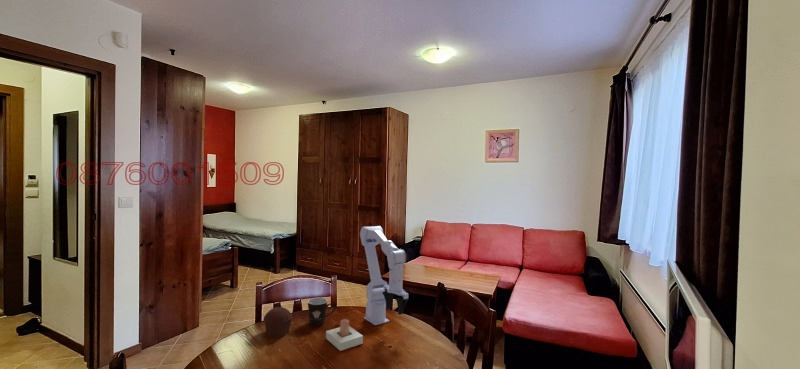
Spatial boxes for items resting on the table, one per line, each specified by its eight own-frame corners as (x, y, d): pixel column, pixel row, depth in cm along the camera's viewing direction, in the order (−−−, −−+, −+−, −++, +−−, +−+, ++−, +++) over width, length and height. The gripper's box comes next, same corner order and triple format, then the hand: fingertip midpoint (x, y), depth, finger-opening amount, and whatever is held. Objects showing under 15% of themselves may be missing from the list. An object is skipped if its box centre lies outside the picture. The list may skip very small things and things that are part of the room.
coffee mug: (303, 325, 143) (303, 302, 143) (313, 318, 151) (314, 296, 151) (326, 329, 139) (327, 306, 139) (336, 321, 148) (336, 300, 148)
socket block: (325, 338, 132) (326, 331, 132) (347, 331, 138) (347, 324, 138) (340, 350, 123) (340, 343, 123) (362, 343, 129) (363, 335, 129)
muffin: (259, 331, 136) (259, 307, 136) (285, 324, 144) (285, 301, 143) (269, 342, 127) (270, 316, 127) (296, 334, 135) (297, 310, 135)
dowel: (338, 340, 131) (338, 320, 131) (345, 338, 133) (346, 318, 133) (342, 343, 128) (343, 323, 128) (349, 341, 130) (350, 321, 130)
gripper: (378, 276, 141) (377, 307, 141) (399, 285, 129) (398, 319, 129) (391, 273, 145) (390, 304, 145) (412, 282, 134) (411, 315, 134)
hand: (394, 310), depth 138 cm, fingers open, 7 cm apart
